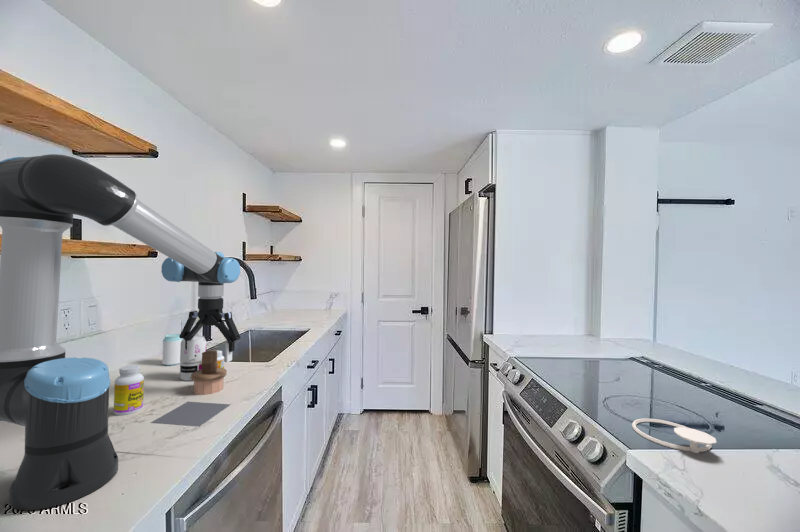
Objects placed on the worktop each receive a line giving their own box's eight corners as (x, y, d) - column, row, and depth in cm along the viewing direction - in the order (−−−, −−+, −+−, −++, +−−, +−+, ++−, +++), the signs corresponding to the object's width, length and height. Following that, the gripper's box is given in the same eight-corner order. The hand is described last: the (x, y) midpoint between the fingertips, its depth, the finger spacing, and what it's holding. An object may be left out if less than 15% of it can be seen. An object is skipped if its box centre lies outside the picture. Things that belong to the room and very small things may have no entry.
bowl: (212, 396, 110) (213, 381, 110) (187, 394, 111) (188, 379, 111) (228, 386, 118) (228, 372, 118) (205, 385, 119) (205, 371, 119)
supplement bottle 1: (126, 418, 94) (127, 371, 94) (107, 415, 95) (108, 369, 95) (149, 408, 100) (150, 364, 100) (130, 405, 102) (131, 362, 101)
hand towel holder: (677, 408, 100) (746, 445, 79) (677, 423, 100) (745, 464, 79) (618, 405, 101) (672, 441, 80) (618, 420, 101) (671, 460, 80)
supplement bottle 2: (203, 381, 123) (204, 353, 123) (212, 376, 129) (213, 349, 129) (218, 382, 123) (218, 353, 123) (227, 376, 128) (227, 350, 128)
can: (186, 362, 145) (187, 334, 145) (172, 366, 139) (173, 337, 138) (172, 360, 147) (173, 333, 147) (158, 365, 140) (158, 336, 140)
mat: (199, 427, 89) (199, 426, 89) (150, 424, 91) (150, 422, 91) (230, 405, 103) (230, 404, 103) (187, 402, 104) (187, 401, 104)
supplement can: (199, 372, 132) (200, 334, 132) (209, 377, 128) (210, 337, 127) (175, 378, 126) (176, 337, 126) (185, 383, 121) (186, 341, 121)
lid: (213, 382, 109) (214, 356, 109) (183, 380, 110) (184, 355, 110) (232, 372, 119) (233, 348, 119) (205, 370, 120) (205, 347, 120)
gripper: (252, 297, 117) (250, 359, 117) (184, 295, 119) (183, 355, 119) (239, 299, 109) (238, 365, 109) (167, 297, 112) (166, 361, 112)
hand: (209, 360), depth 114 cm, fingers open, 13 cm apart
